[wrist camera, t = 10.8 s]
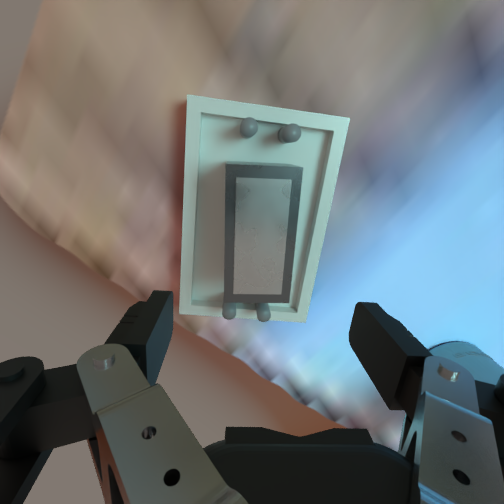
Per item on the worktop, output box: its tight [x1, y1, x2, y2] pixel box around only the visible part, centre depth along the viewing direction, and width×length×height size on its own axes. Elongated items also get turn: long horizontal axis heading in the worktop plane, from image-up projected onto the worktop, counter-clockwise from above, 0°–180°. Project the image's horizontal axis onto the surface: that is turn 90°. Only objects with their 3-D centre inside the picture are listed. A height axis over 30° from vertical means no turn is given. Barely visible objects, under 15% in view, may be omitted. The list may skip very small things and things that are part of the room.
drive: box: [224, 161, 303, 303], centre depth 22 cm, size 10×5×5 cm, turn 177°
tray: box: [179, 94, 350, 323], centre depth 23 cm, size 18×12×4 cm, turn 173°
